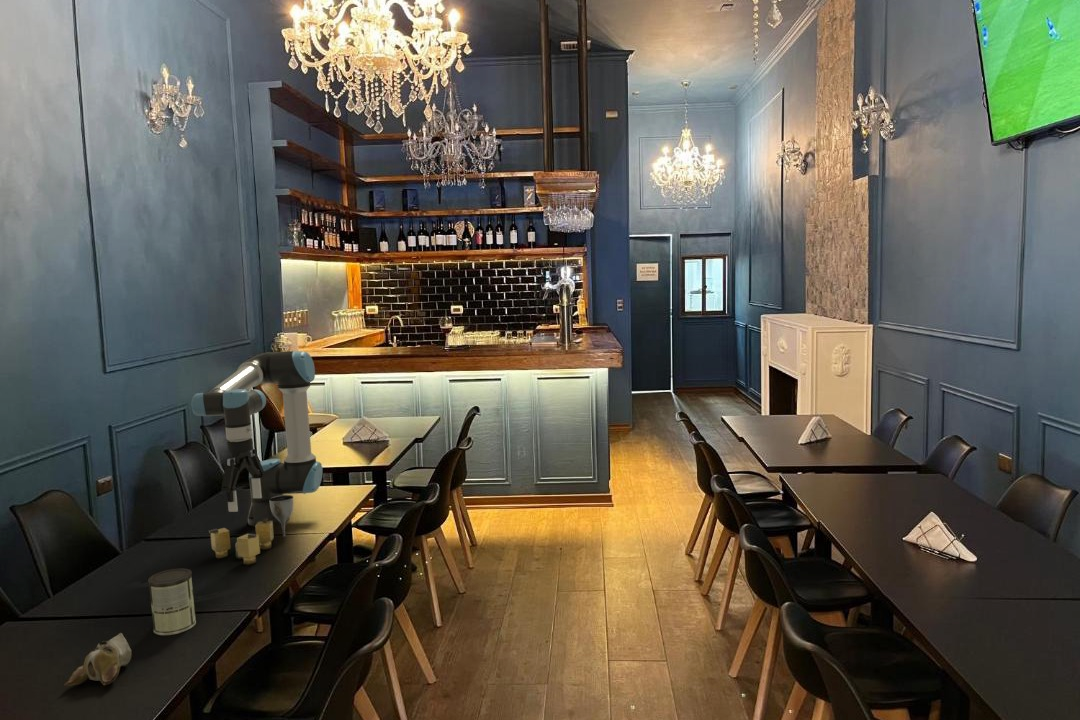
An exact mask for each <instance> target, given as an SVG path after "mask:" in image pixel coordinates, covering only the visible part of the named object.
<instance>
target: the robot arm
mask: <svg viewBox="0 0 1080 720" xmlns="http://www.w3.org/2000/svg"><path fill="white" fill-rule="evenodd" d="M315 369H316V368H315V363H314V360H313V358H312V356H311V354H310V353H308V352H307V351H305V350H304V351H303V350H288V351H286V350H285V351H274V352H273V351H267V352H264V353H259V354H257V355H255V356H253V357H251V358H248V359H247V360H245V361H244V362H242V363H241V364H240V365H239V366H238V367H237V370H236V371H235V372H234V373H232V374H231V375H229V376H228V377H227V378H225V379H224V380H223V381H222V382H220V383H219V384H217V385H216V386H215V387H214V388H212V389H211V390H210V391H208V392H199V393H195V394H194V395H193V396H192V398H191V403H190V406H191V410H192V411H191V412H193V414H194V415H195V416H196V417H197V416H198V417H212V416H213V417H214V416H216V417H217V416H218V417H219V416H224V422H225V424H224V426H225V438H226V440H227V442H226V448H227V452H228V453H229V454H230V455H231V458H225V459H224V472H223V477H222V481H221V489H220V491H221V492H224V493H226V500H227V508H228V509H227V510H228V512H230V513H231V512H233V513H235V512H239V508H238V506H239V505H238V497H237V490H236V489H235V488H236V485H237V482H238V479H239V477H240V473H241V472H243V470H244V469H246V470H247V472H248V481H249V489H250V491H249V492H250V507H249V511H248V515H247V524H248V526H251V527H255V525H256V524H257V523H258V522H260V521H263V519H264V518H267V521H273V525H275V524H276V525H281V523H280V522H279V520H277V519H276V518H275V517H274V516H273V514H272V512H271V508H270V501H269V499H270V498H272V497H275V496H280V495H291V494H293V495H294V494H303V495H305V494H313V493H316V492H317V491H318V489H320V486H321V484H322V478H323V464H322V463H321V462H320V461H317V457H316V455H315V454H314V453H312V445H311V432H310V431H311V430H310V418H309V405H308V393H307V392H308V389H309V388H310V387H311V383H312V382H313V381H314V380H315V378H316V375H315V374H316V370H315ZM261 384H277V389H278V390H279V391H280V392H281V393H282V401H283V413H284V427H285V438H286V450H287V455H286V456H285V458H284V459H283V462H282V461H281V459H280V458H270V459H266V460H261V461H260V459H259V456H258V453H257V452H258V450H257V448H254V442H253V438H252V436H253V433H252V432H253V431H252V430H253V429H252V425H251V424H252V422H251V416H252V415H255V414H258V413H259V412H261V411H262V410H263V409H264V408H265V406H266V405H267V398H266V395H265V394H264V392H263V391H261V390H260V389H251V388H255V387H257V386H259V385H261ZM290 519H291V516H290V517H289V518H288V519H287V521H286V522H288V521H289V520H290Z"/></svg>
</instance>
